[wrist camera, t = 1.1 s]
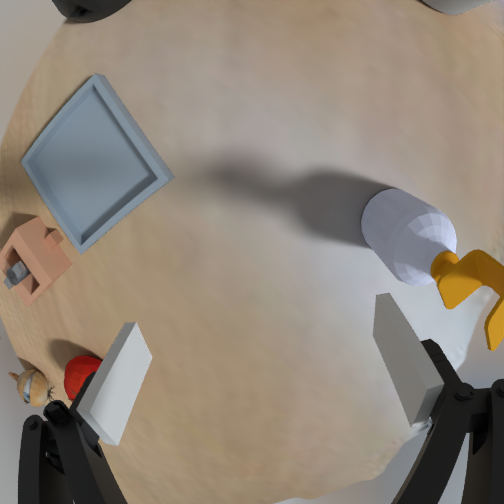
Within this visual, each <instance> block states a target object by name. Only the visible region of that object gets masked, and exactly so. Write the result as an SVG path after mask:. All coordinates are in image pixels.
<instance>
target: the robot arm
mask: <svg viewBox="0 0 504 504" xmlns="http://www.w3.org/2000/svg"><path fill="white" fill-rule="evenodd" d="M52 1H53V3H54V4H55V6H56V7H57V8H58V10H59V11H60V13H61V14H62V15H64V16H65V17H67V18H69V19H71V20H74V21H76V22H82V23H87V22H93V21H97V20H100V19H103V18H105V17H108V16H110V15H111V14H113V13H115V12H117V11H118V10H120V9H121V8H123V7H124V6H125V5H126V4H128V3H129V2H130V1H131V0H52ZM373 337H374V339H375V341H376V344H377V346H378V348H379V350H380V353H381V355H382V357H383V360H384V362H385V364H386V367H387V369H388V371H389V374H390V376H391V378H392V381H393V383H394V386H395V388H396V391H397V393H398V395H399V398H400V401H401V403H402V406H403V408H404V411H405V413H406V416H407V419H408V421H409V424H410V427H411V428H413V427H416V426H419V425H423V424H426V423H427V421H428V419H429V417H431V419H432V421H433V424H432V426H431V427H430V429H429V431H428V433H427V437H426V440H425V442H424V444H423V446H422V448H421V450H420V452H419V454H418V457H417V459H416V461H415V463H414V464H413V466H412V468H411V471H410V472H409V474H408V476H407V478H406V480H405V481H404V483H403V485H402V487H401V488H400V490H399V492H398V494H397V495H396V497H395V498H394V500H393V502H392V503H391V504H438V502H439V500H440V498H441V496H442V493H443V492H444V489H445V487H446V485H447V483H448V480H449V478H450V476H451V473H452V471H453V468H454V466H455V463H456V461H457V458H458V455H459V453H460V450H461V447H462V444H463V441H464V438H465V435H466V433H470V437H469V451H468V461H467V471H466V478H465V485H464V491H463V496H462V502H461V504H504V379H498V380H497V381H495V382H494V383H493V385H492V387H491V388H484V389H474V388H473V387H472V386H471V385H469V384H467V383H463V382H461V380H460V378H459V377H458V375H457V373H456V372H455V370H454V369H453V367H452V365H451V364H450V362H449V360H447V357H446V356H445V354H443V351H442V349H441V348H440V346H439V345H438V344H437V343H436V342H434V341H433V340H431V339H428V340H424V341H420V340H419V339H418V337H417V335H416V334H415V332H414V330H413V329H412V327H411V326H410V324H409V322H408V321H407V319H406V318H405V316H404V315H403V313H402V311H401V310H400V308H399V307H398V305H397V304H396V302H395V301H394V299H393V298H392V296H391V295H390V293H385V294H380V295H376V304H375V317H374V328H373ZM151 360H152V356H151V354H150V352H149V350H148V347H147V345H146V343H145V341H144V339H143V336H142V334H141V332H140V329H139V327H138V325H137V322H132V323H125V324H124V326H123V327H122V329H121V331H120V332H119V334H118V336H117V337H116V339H115V341H114V342H113V344H112V346H111V348H110V349H109V351H108V353H107V354H106V356H105V358H104V360H103V361H102V363H101V365H100V367H99V368H98V370H97V372H96V371H93V372H92V373H91V374H90V375H89V376H88V377H87V378H86V379H85V381H84V383H83V386H81V388H80V390H79V392H78V394H77V395H76V397H75V399H74V401H73V403H72V405H71V406H70V408H69V409H68V407H67V406H66V405H65V404H64V402H62V401H61V400H54V401H52V402H50V403H48V405H47V406H46V407H45V409H44V412H43V415H44V416H45V417H46V418H47V419H48V421H43V419H42V418H41V417H40V416H38V415H32V416H30V417H28V418H27V419H26V421H25V422H24V425H23V432H22V439H21V449H20V459H19V475H18V504H74V503H73V500H74V502H75V504H128V503H127V502H126V500H125V498H124V496H123V494H122V492H121V490H120V488H119V486H118V484H117V482H116V480H115V478H114V476H113V474H112V472H111V469H110V467H109V465H108V463H107V460H106V458H105V456H104V453H103V451H102V448H101V446H100V445H99V443H98V440H99V437H100V438H101V439H102V440H103V441H104V443H105V444H110V445H116V446H118V445H119V442H120V439H121V436H122V434H123V431H124V428H125V426H126V423H127V420H128V418H129V415H130V412H131V410H132V407H133V405H134V402H135V400H136V397H137V394H138V392H139V389H140V387H141V384H142V382H143V379H144V377H145V375H146V372H147V370H148V367H149V365H150V362H151ZM46 453H47V456H46Z"/></svg>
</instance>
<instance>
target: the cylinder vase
mask: <svg viewBox="0 0 504 504" xmlns="http://www.w3.org/2000/svg"><path fill="white" fill-rule="evenodd" d="M422 1H423V2H425V3H426V4H427V5H429V6H430V7H432V8H434V9H436V10H438V11H440V12H442V13H445V14H450V15H459V14H462V13H464V12H466V11H469V10H471V9H474V8H476V7H479V6H481V5H484V4H486V3H489V2H492V1H494V0H422Z"/></svg>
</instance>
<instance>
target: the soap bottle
mask: <svg viewBox="0 0 504 504" xmlns="http://www.w3.org/2000/svg"><path fill="white" fill-rule="evenodd" d="M361 227H362V233H363V236H364V238H365V241H366V242H367V243H368V244H369V246H370V247H371V248H372V249H373V250H374V252H375V253H376V254H377V255H378V256H379V258H380V259H381V260H382V261H383V263H384V264H385V265H386V266H387V268H388V269H389V270H390V271H391V272H392V274H393V275H394V276H395V277H396V278H397V279H398V280H399V281H402V282H404V283H406V284H409V285H412V286H422V285H426V284H428V283H431V282H434V281H436V282H437V287H438V290H439V292H440V295H441V297H442V300H443V302H444V305H445V307H446V308H447V309H453V308H455V307H456V306H457V305H458V304H460V303H461V302H462V301H463V300H465V299H466V298H467V297H468V296H469V295H471V294H472V293H473V292H474V291H475V290H476V289H478V288H479V287H480V286H489V287H491V288H492V289H493V290H494V291H495V292H496V293H497V294H499V296H500V298H499V300H498V301H497V303H496V305H495V306H494V308H493V309H492V311H491V312H490V314H489V315H488V317H487V319H486V321H485V326H484V328H485V334H486V339H487V345H488V349H489V350H491V351H494V350H495V349H496V348H497V347H498V345H499V344H500V342H501V341H502V339H503V338H504V266H503V265H502V264H500V263H499V262H498V261H496V260H495V259H494V258H492V257H491V256H490V255H488V254H487V253H486V252H484V251H482V250H479V249H478V250H473V251H471V252H469V253H468V254H467V255H466V256H464V257H463V258H462V259H461V260H460V261H459V258H458V257H457V255H456V254H455V251H456V242H457V239H456V234H455V229H454V227H453V225H452V223H451V222H450V220H449V218H448V217H447V215H446V214H444V213H443V212H441V211H440V210H438V209H437V208H435V207H433V206H431V205H429V204H428V203H426V202H424V201H422V200H420V199H418V198H416V197H414V196H413V195H411V194H409V193H407V192H405V191H403V190H398V189H388V190H385V191H381V192H380V193H378V194H377V195H376V196H374V197H373V198H371V200H370V201H369V203H368V204H367V206H366V207H365V209H364V212H363V216H362V219H361Z"/></svg>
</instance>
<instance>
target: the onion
mask: <svg viewBox="0 0 504 504" xmlns="http://www.w3.org/2000/svg"><path fill="white" fill-rule="evenodd" d="M8 374H9V375H10V376H11V377H12V378H14V379H15V380H16V381H17V390H18V392H19V394H20V397H21V398H22V400H24V401H25V402H26V403H31V405H32V406H34V407H39V406H42V405H43V404H44V403H45V402H46V401H47V399H48V397H49V398H50V397H52V396H51V395H49V394H50V392H51V389H52V387H53V386H52V387H51V388H50V390H49V386H48V382H47V380H46V378H45V377H44V376H43V374H42V373H40V372H38V371H36V370H33V369H32V370H26V371H25V372H23V373H21V374H20V376H18V375H17V374H15V373H11V372H9V373H8ZM53 388H54V387H53ZM51 399H52V398H51ZM53 400H54V399H53ZM49 401H51V400H49ZM51 402H52V401H51Z"/></svg>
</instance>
